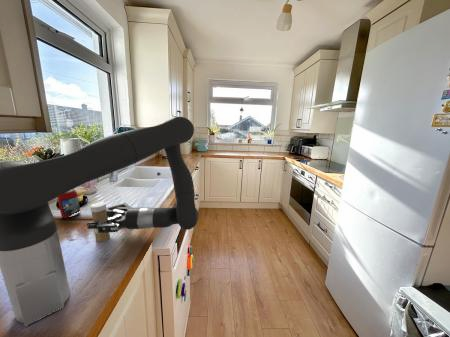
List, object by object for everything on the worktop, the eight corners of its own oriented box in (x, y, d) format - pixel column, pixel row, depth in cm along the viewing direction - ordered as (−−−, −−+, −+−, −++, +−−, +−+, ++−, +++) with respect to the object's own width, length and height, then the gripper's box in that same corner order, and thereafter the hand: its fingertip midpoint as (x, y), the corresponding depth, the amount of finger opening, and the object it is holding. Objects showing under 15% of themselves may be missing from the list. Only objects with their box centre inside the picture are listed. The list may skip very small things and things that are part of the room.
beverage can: (69, 220, 81) (63, 194, 78) (57, 217, 83) (52, 192, 80) (84, 213, 87) (80, 188, 85) (73, 211, 89) (69, 187, 86)
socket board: (140, 220, 81) (140, 211, 80) (109, 231, 73) (108, 220, 72) (126, 207, 94) (126, 199, 93) (98, 215, 86) (97, 206, 85)
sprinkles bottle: (99, 243, 65) (94, 208, 62) (93, 239, 68) (87, 205, 65) (113, 237, 69) (108, 203, 66) (106, 233, 71) (101, 200, 68)
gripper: (148, 200, 74) (104, 201, 73) (133, 218, 60) (80, 219, 59) (149, 218, 75) (107, 219, 74) (135, 238, 62) (83, 240, 60)
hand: (95, 219), depth 66 cm, fingers open, 8 cm apart
